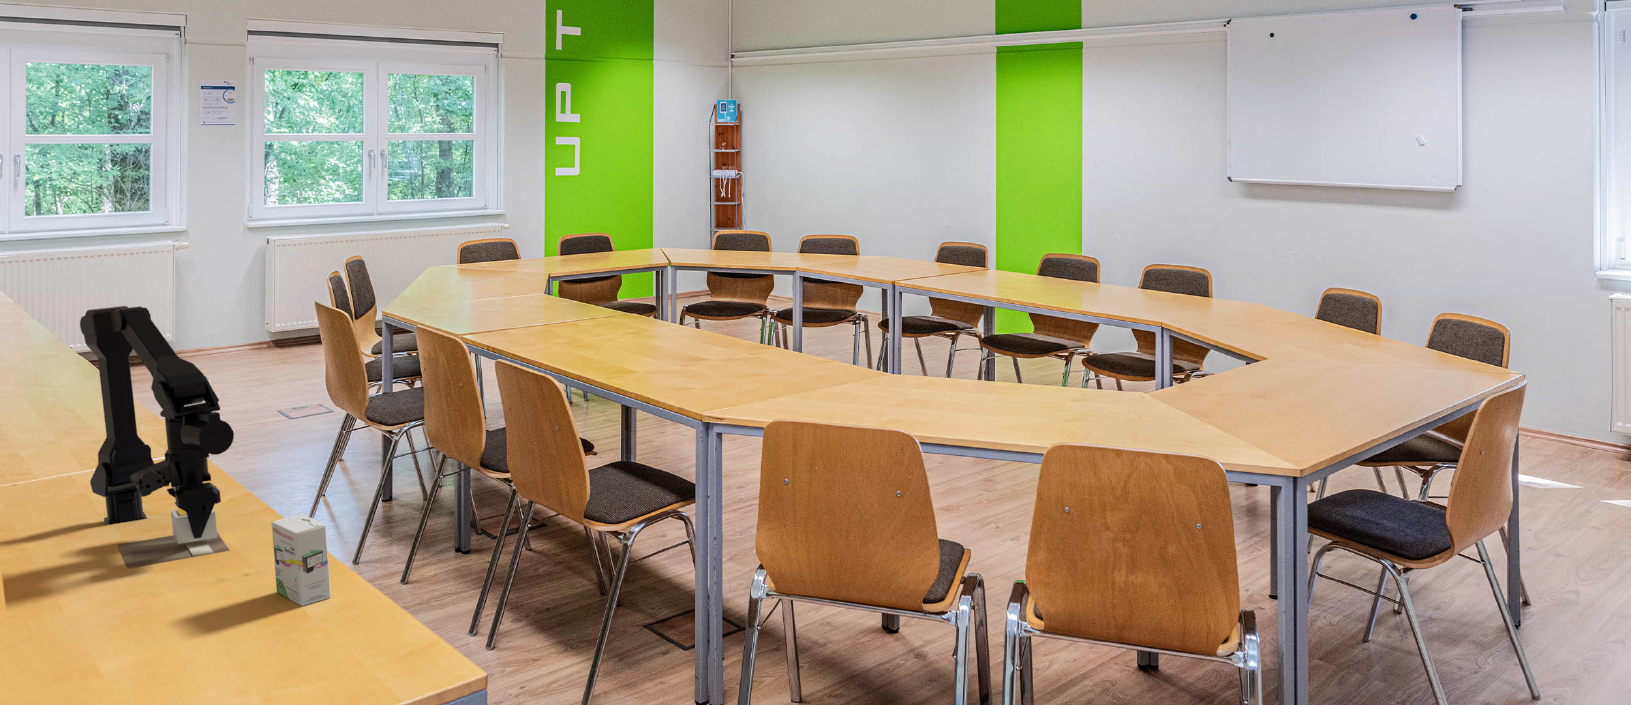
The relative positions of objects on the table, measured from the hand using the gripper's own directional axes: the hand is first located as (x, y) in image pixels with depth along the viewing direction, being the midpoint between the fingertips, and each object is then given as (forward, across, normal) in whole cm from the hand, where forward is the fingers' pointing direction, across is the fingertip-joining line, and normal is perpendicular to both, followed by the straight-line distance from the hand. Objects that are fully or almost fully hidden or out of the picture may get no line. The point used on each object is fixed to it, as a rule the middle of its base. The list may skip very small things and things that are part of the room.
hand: (195, 533), depth 203 cm
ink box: (+3, +32, +10) cm, 34 cm away
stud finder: (0, 0, 0) cm, 0 cm away
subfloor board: (+3, 0, -4) cm, 5 cm away
